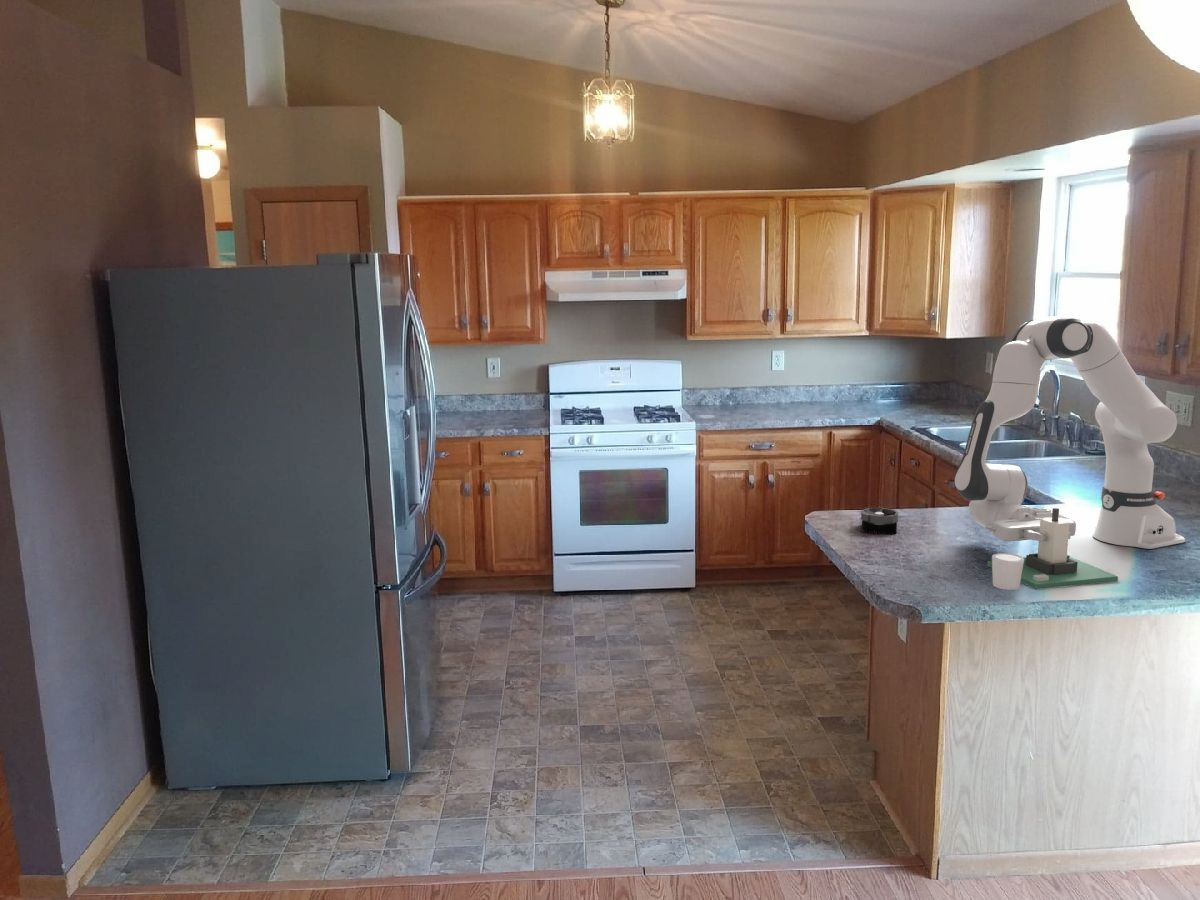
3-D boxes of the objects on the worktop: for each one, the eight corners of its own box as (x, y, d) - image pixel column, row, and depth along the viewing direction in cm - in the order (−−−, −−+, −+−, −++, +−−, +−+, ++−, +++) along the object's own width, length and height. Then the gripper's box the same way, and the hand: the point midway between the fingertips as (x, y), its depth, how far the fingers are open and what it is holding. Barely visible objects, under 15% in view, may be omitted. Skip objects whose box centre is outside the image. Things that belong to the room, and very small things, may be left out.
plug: (1051, 564, 217) (1055, 505, 214) (1065, 570, 212) (1070, 510, 210) (1036, 566, 216) (1041, 506, 214) (1051, 572, 212) (1056, 511, 209)
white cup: (985, 586, 207) (987, 557, 205) (997, 578, 211) (998, 550, 210) (1015, 592, 202) (1017, 563, 200) (1026, 585, 206) (1028, 556, 205)
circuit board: (1063, 558, 226) (1064, 544, 225) (1117, 581, 208) (1119, 566, 208) (987, 565, 221) (988, 551, 220) (1036, 589, 204) (1037, 574, 203)
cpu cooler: (896, 507, 257) (900, 516, 247) (896, 526, 258) (899, 536, 249) (860, 506, 260) (861, 515, 250) (859, 524, 261) (861, 534, 251)
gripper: (982, 513, 223) (1018, 528, 209) (1052, 507, 227) (1093, 521, 213) (980, 537, 224) (1017, 553, 211) (1051, 531, 228) (1090, 546, 215)
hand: (1055, 537), depth 212 cm, fingers open, 5 cm apart
